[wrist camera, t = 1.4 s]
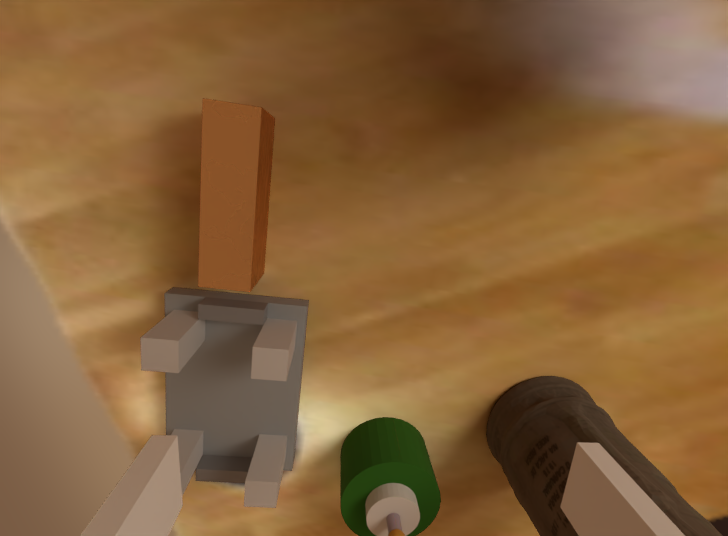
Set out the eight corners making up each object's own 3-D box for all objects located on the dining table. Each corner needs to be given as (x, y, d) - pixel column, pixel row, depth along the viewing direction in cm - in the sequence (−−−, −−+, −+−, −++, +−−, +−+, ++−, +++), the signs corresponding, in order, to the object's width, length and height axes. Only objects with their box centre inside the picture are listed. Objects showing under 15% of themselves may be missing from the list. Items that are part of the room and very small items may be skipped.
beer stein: (459, 451, 36) (624, 785, 17) (509, 358, 33) (766, 622, 14) (584, 481, 39) (840, 788, 20) (637, 398, 37) (985, 656, 18)
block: (227, 111, 27) (202, 98, 22) (275, 118, 27) (261, 107, 22) (221, 267, 30) (198, 286, 25) (264, 272, 30) (250, 292, 25)
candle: (435, 423, 35) (471, 520, 25) (414, 493, 37) (441, 607, 27) (349, 411, 34) (353, 507, 24) (333, 483, 36) (330, 598, 26)
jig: (173, 287, 30) (128, 318, 23) (308, 300, 31) (300, 333, 24) (174, 451, 34) (136, 515, 27) (294, 458, 35) (283, 521, 28)
